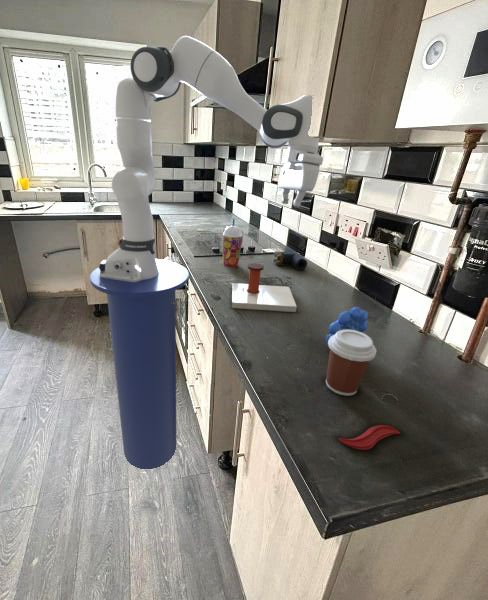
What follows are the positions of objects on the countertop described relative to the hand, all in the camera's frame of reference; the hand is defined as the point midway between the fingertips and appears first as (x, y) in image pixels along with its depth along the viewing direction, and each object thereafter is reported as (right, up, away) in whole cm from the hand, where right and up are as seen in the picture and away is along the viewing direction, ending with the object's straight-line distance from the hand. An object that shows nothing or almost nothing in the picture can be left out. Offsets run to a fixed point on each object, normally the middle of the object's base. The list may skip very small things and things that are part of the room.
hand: (290, 205), depth 102 cm
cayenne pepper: (+3, -55, -46) cm, 72 cm away
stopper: (-11, -29, +8) cm, 32 cm away
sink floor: (-8, -30, +6) cm, 32 cm away
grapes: (+8, -43, -20) cm, 48 cm away
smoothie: (-16, -16, +36) cm, 43 cm away
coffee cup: (+3, -49, -33) cm, 59 cm away
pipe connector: (+9, -15, +40) cm, 44 cm away
